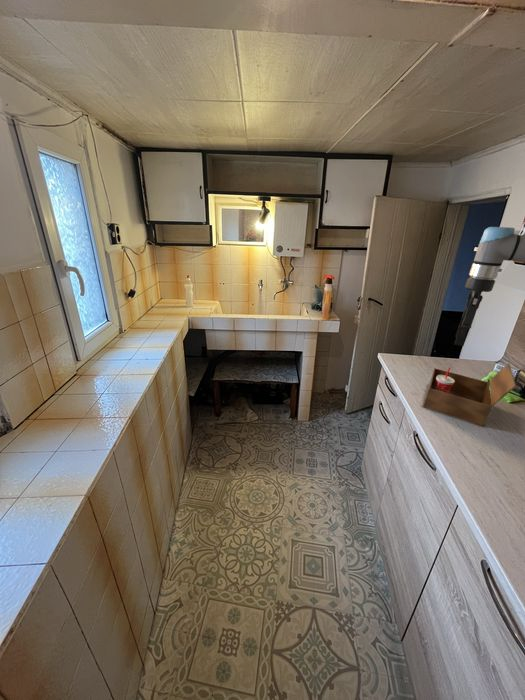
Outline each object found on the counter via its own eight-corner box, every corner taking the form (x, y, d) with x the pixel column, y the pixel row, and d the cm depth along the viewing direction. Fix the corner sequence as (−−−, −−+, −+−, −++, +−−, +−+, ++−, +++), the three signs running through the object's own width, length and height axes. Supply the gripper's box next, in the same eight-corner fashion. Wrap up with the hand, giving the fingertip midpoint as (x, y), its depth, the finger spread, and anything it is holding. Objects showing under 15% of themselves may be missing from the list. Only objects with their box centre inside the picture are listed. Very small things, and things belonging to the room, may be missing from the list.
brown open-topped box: (481, 400, 113) (488, 382, 109) (482, 426, 98) (491, 406, 94) (428, 385, 122) (434, 368, 119) (423, 406, 107) (429, 388, 104)
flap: (489, 380, 109) (490, 381, 109) (492, 404, 94) (493, 405, 94) (508, 363, 104) (509, 363, 104) (514, 385, 89) (516, 386, 89)
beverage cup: (451, 401, 110) (463, 370, 105) (437, 403, 109) (449, 371, 103) (439, 393, 116) (450, 363, 110) (426, 394, 115) (436, 364, 109)
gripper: (498, 284, 83) (471, 353, 92) (493, 275, 99) (471, 335, 108) (468, 280, 86) (445, 347, 96) (468, 272, 102) (448, 330, 112)
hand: (459, 341), depth 102 cm, fingers open, 8 cm apart
